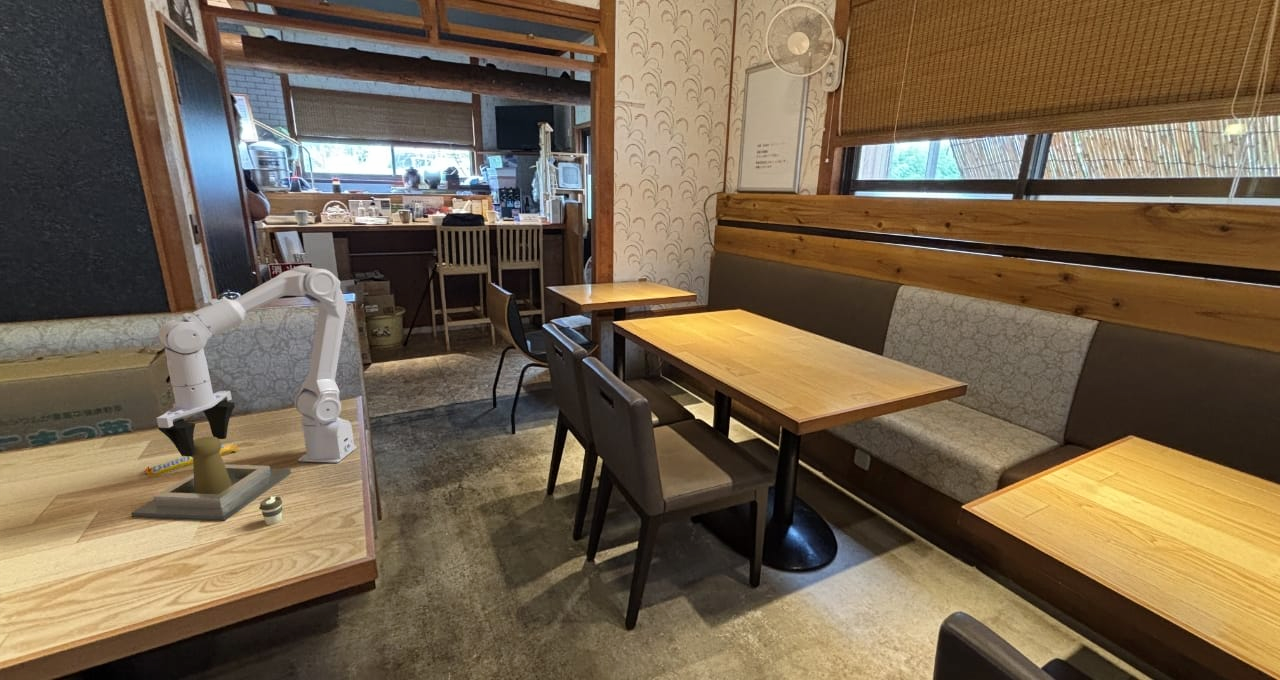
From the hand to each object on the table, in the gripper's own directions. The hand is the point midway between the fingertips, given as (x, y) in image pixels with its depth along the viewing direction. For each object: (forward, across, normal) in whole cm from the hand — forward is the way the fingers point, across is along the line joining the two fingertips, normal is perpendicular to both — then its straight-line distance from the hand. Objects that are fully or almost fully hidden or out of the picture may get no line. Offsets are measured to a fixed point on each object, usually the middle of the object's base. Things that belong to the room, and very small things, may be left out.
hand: (204, 446), depth 104 cm
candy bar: (+11, -13, -16) cm, 23 cm away
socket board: (+10, 0, +1) cm, 10 cm away
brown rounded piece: (+10, 0, 0) cm, 10 cm away
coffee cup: (+11, +8, +19) cm, 23 cm away
